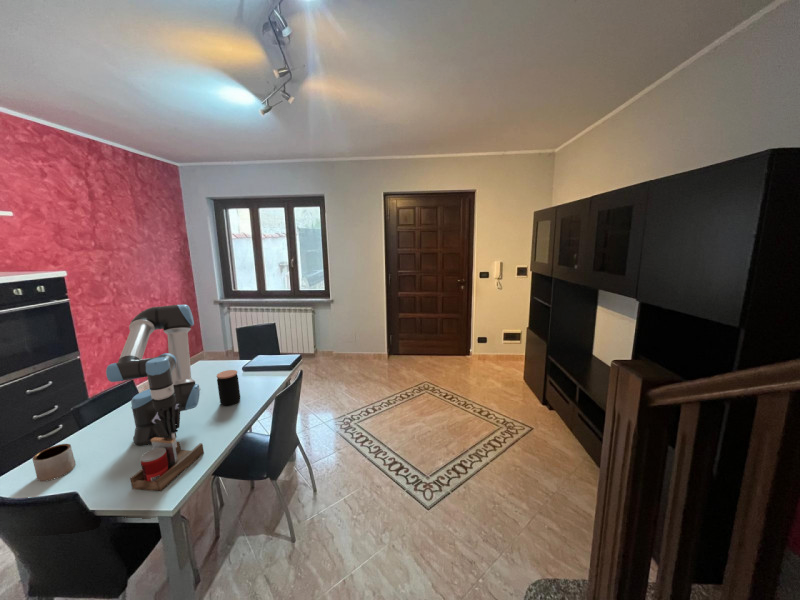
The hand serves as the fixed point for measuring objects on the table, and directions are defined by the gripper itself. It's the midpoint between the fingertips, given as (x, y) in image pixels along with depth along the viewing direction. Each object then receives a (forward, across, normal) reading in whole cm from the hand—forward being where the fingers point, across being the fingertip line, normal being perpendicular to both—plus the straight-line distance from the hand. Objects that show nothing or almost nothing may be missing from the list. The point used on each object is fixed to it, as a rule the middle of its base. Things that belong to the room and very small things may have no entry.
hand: (173, 447), depth 130 cm
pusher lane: (+9, -3, 0) cm, 9 cm away
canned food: (+8, -8, 0) cm, 12 cm away
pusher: (+7, -4, 0) cm, 8 cm away
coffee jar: (+9, +52, +12) cm, 55 cm away
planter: (+9, -8, +47) cm, 49 cm away
